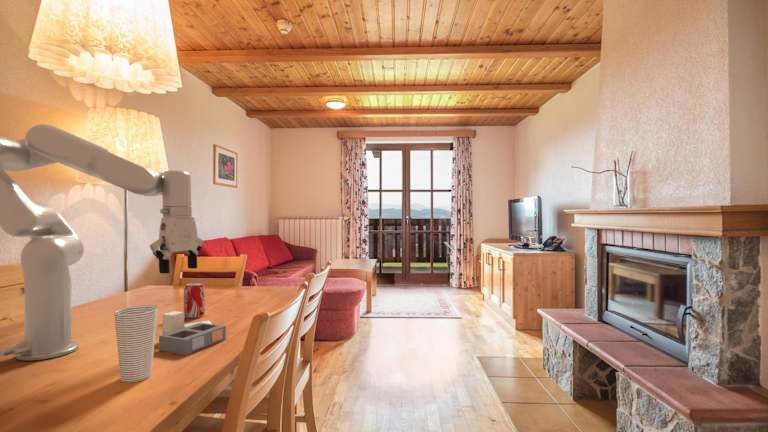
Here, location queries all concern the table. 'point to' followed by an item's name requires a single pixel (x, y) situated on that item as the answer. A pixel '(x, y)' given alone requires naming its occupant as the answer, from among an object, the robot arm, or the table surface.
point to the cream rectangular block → (173, 321)
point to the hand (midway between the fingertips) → (179, 270)
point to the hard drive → (196, 323)
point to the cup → (135, 341)
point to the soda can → (194, 300)
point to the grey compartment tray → (192, 338)
